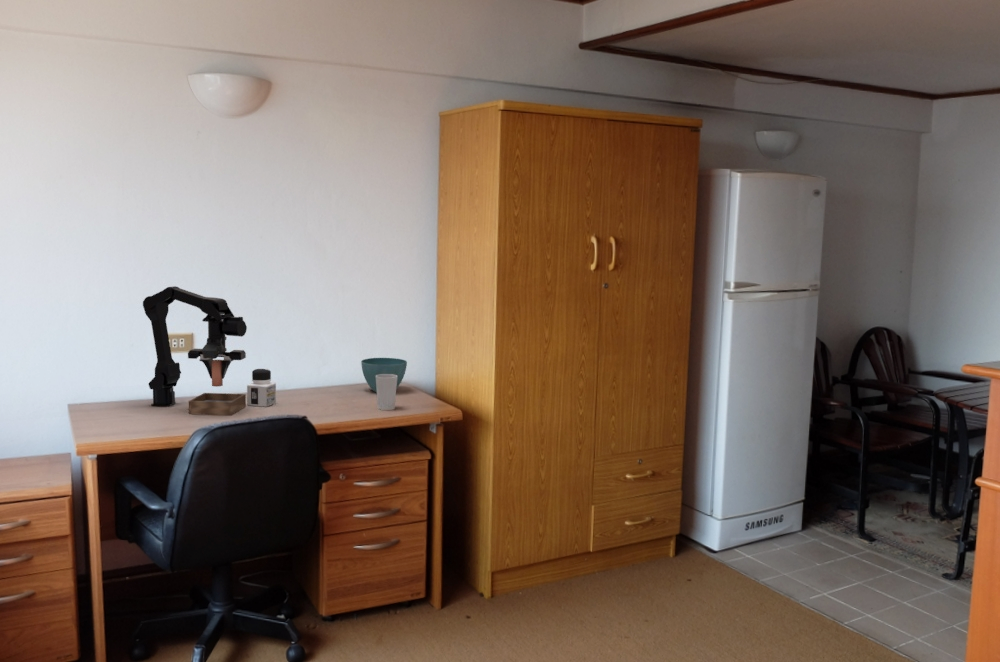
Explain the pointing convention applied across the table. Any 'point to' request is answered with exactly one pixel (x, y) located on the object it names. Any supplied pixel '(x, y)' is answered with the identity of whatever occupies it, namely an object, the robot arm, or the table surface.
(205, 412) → the box
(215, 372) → the peg
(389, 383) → the cup
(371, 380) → the teal bowl
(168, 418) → the table surface
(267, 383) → the container
